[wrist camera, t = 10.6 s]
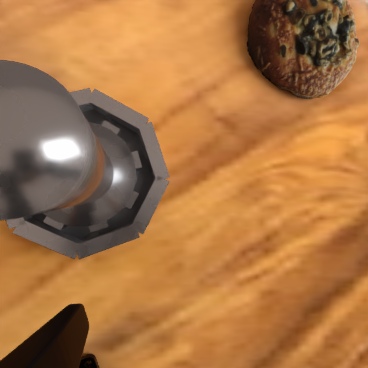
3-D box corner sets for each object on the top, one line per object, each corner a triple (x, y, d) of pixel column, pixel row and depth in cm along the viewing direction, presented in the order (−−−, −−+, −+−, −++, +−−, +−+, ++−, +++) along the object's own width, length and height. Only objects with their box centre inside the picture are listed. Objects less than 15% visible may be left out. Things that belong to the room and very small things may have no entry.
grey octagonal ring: (37, 270, 19) (25, 280, 17) (-14, 124, 19) (-33, 114, 16) (179, 218, 21) (185, 221, 19) (136, 88, 21) (137, 75, 19)
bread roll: (220, 12, 23) (254, -39, 18) (301, -21, 26) (347, -71, 22) (279, 123, 24) (326, 103, 19) (349, 77, 28) (402, 51, 23)
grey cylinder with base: (47, 243, 18) (-138, 352, 6) (15, 137, 18) (-248, 7, 6) (153, 210, 20) (192, 238, 7) (124, 113, 20) (114, -31, 7)
